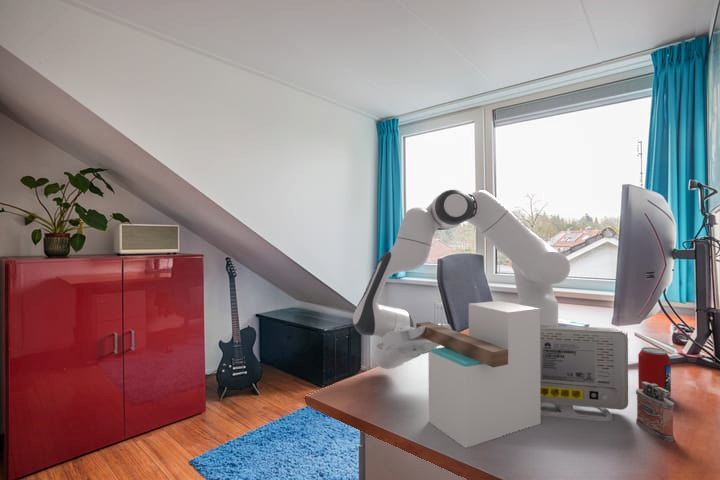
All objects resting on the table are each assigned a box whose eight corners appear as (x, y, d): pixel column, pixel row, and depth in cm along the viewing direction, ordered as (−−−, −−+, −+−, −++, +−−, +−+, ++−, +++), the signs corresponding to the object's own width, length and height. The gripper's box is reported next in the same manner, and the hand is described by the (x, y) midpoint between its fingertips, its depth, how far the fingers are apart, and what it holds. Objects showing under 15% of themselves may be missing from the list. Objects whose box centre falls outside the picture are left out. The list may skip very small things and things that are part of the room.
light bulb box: (590, 352, 135) (590, 323, 135) (583, 356, 131) (583, 326, 131) (559, 346, 144) (559, 318, 144) (552, 349, 139) (552, 321, 139)
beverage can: (677, 401, 94) (676, 354, 94) (647, 399, 95) (646, 353, 95) (661, 391, 101) (660, 347, 101) (633, 389, 102) (633, 346, 102)
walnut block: (416, 334, 95) (416, 323, 95) (428, 333, 97) (428, 321, 97) (493, 367, 72) (493, 352, 72) (508, 364, 74) (508, 349, 74)
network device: (616, 406, 91) (616, 326, 91) (634, 424, 83) (633, 335, 83) (507, 397, 97) (506, 321, 97) (512, 412, 88) (512, 329, 89)
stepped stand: (428, 421, 84) (428, 307, 84) (499, 402, 94) (498, 300, 94) (465, 448, 73) (464, 317, 73) (540, 423, 83) (540, 308, 83)
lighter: (631, 422, 84) (631, 378, 84) (645, 421, 84) (645, 377, 84) (664, 441, 76) (663, 392, 76) (679, 440, 76) (679, 392, 76)
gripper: (371, 336, 100) (393, 319, 89) (432, 328, 109) (459, 312, 98) (376, 360, 97) (401, 345, 86) (438, 349, 106) (468, 335, 95)
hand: (432, 327), depth 92 cm, fingers closed on walnut block, 4 cm apart
